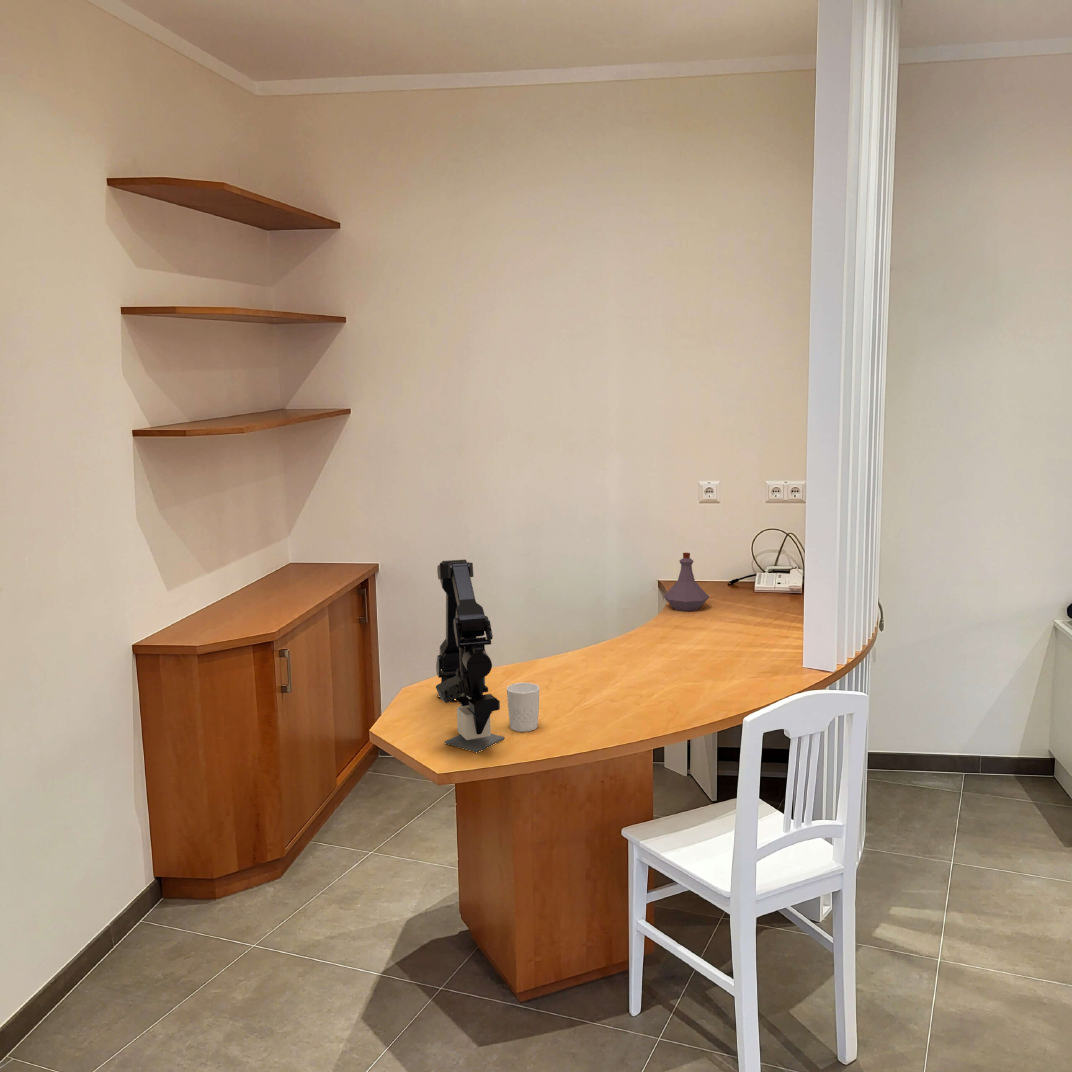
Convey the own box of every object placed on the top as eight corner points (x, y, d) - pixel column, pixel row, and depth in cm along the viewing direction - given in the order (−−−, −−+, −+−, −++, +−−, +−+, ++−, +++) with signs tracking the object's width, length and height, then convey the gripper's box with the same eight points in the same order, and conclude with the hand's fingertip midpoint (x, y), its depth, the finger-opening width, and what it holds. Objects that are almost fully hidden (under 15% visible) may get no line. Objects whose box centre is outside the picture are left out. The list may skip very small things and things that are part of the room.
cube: (457, 731, 233) (456, 707, 232) (481, 727, 235) (480, 703, 234) (466, 740, 227) (465, 715, 226) (490, 735, 230) (490, 711, 229)
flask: (709, 614, 345) (709, 558, 341) (661, 613, 348) (661, 557, 344) (709, 603, 361) (710, 549, 357) (664, 602, 364) (664, 548, 360)
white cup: (539, 720, 245) (538, 682, 243) (540, 732, 237) (540, 692, 235) (507, 721, 244) (506, 683, 243) (507, 733, 237) (506, 693, 235)
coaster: (471, 731, 239) (471, 728, 238) (504, 739, 233) (504, 737, 233) (444, 744, 231) (444, 741, 231) (477, 753, 225) (477, 750, 225)
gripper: (426, 659, 234) (428, 722, 236) (452, 681, 217) (455, 749, 220) (470, 653, 238) (472, 715, 241) (499, 674, 221) (501, 740, 224)
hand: (474, 729), depth 231 cm, fingers closed on cube, 6 cm apart
